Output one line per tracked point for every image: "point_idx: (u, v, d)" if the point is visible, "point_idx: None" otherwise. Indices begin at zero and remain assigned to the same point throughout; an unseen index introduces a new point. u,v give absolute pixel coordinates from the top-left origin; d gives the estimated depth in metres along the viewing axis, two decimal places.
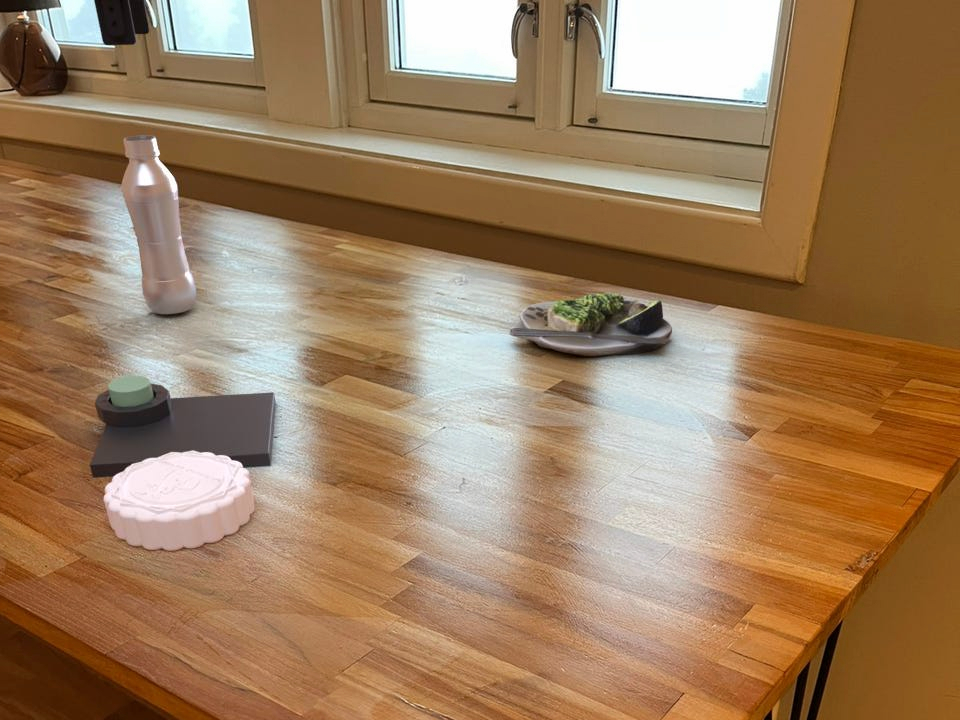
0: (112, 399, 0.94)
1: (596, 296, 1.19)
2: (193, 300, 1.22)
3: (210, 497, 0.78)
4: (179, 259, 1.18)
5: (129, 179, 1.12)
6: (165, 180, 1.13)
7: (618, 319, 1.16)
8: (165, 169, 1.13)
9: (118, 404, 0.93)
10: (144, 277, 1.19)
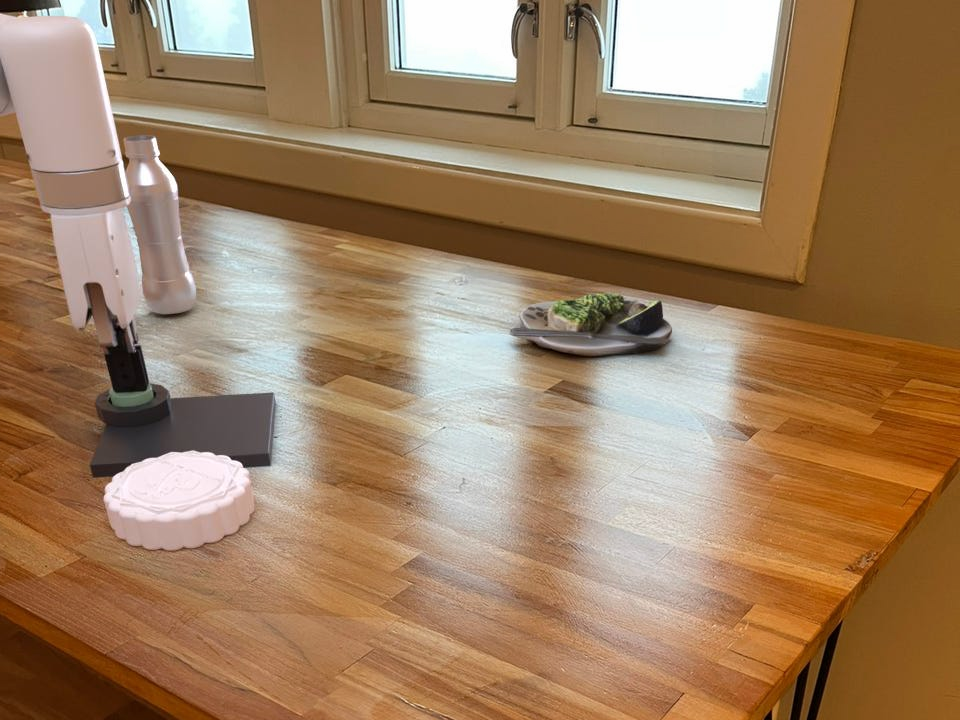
0: (113, 404, 0.94)
1: (596, 296, 1.19)
2: (193, 300, 1.22)
3: (210, 497, 0.78)
4: (179, 260, 1.18)
5: (129, 179, 1.12)
6: (165, 180, 1.13)
7: (618, 319, 1.16)
8: (165, 169, 1.13)
9: None
10: (144, 277, 1.19)
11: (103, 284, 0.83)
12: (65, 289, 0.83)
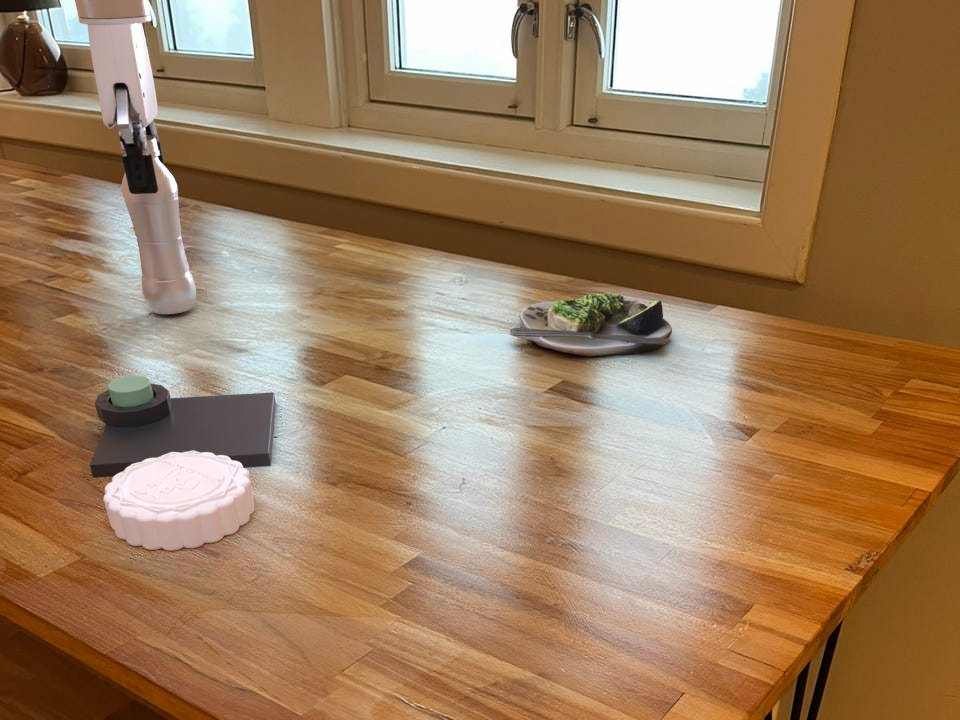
0: (112, 399, 0.94)
1: (596, 296, 1.19)
2: (193, 300, 1.22)
3: (210, 497, 0.78)
4: (179, 260, 1.18)
5: None
6: (165, 180, 1.13)
7: (618, 319, 1.16)
8: (165, 169, 1.13)
9: (118, 404, 0.93)
10: (144, 277, 1.19)
11: (129, 85, 1.04)
12: (98, 88, 1.04)
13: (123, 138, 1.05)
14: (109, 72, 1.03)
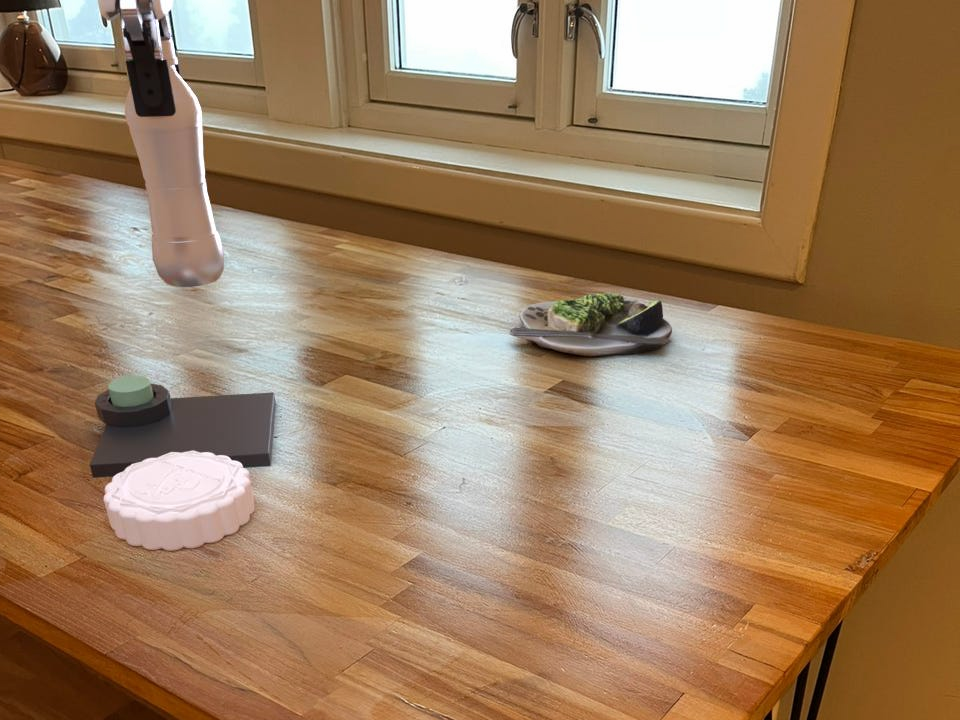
0: (112, 399, 0.94)
1: (596, 296, 1.19)
2: (220, 268, 0.91)
3: (210, 497, 0.78)
4: (203, 212, 0.87)
5: None
6: (185, 99, 0.82)
7: (618, 319, 1.16)
8: (185, 85, 0.82)
9: (118, 404, 0.93)
10: (155, 236, 0.88)
11: None
12: None
13: (128, 31, 0.74)
14: None
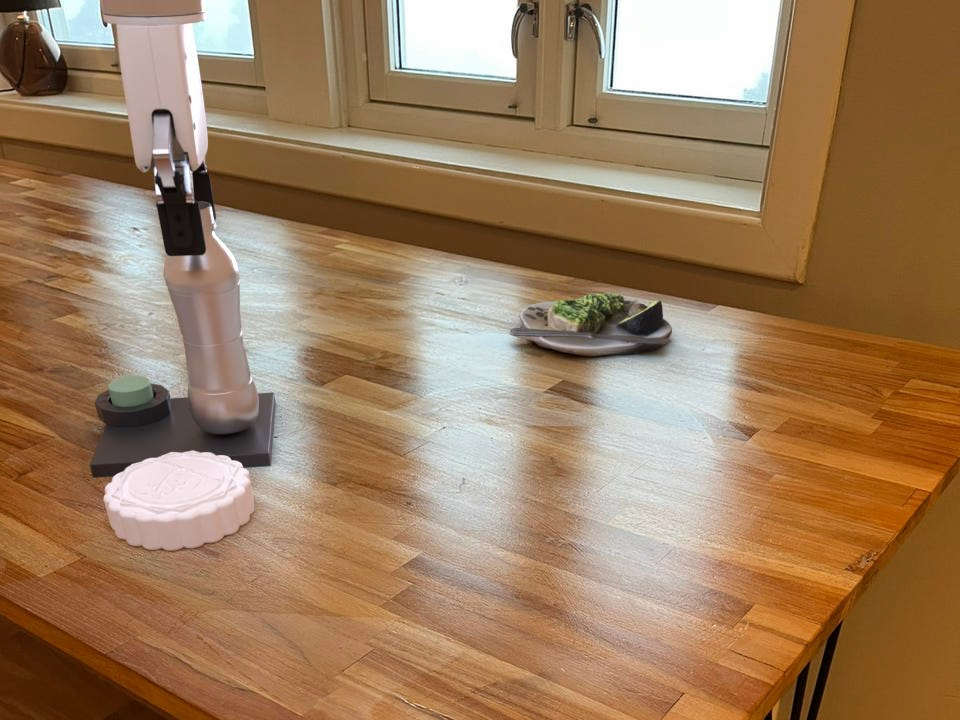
0: (112, 399, 0.94)
1: (596, 296, 1.19)
2: (255, 414, 0.91)
3: (210, 497, 0.78)
4: (239, 364, 0.88)
5: (175, 262, 0.81)
6: (223, 262, 0.82)
7: (618, 319, 1.16)
8: (223, 247, 0.83)
9: (118, 404, 0.93)
10: (191, 387, 0.88)
11: (174, 112, 0.72)
12: (130, 117, 0.72)
13: (160, 176, 0.72)
14: (146, 94, 0.71)
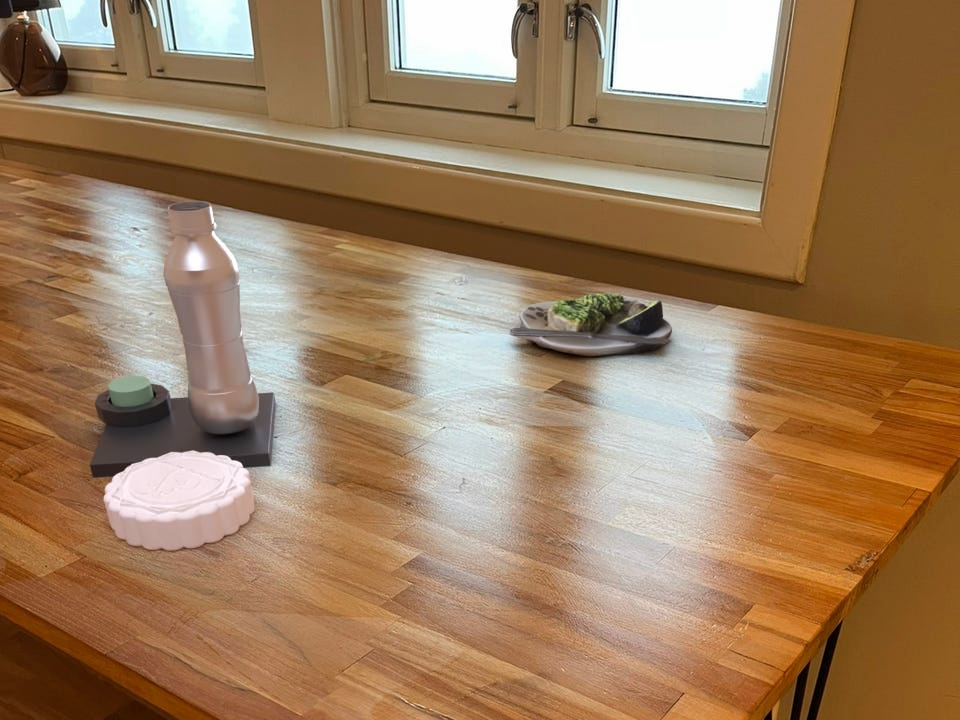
0: (112, 399, 0.94)
1: (596, 296, 1.19)
2: (255, 414, 0.91)
3: (210, 497, 0.78)
4: (239, 364, 0.88)
5: (175, 262, 0.81)
6: (223, 262, 0.82)
7: (618, 319, 1.16)
8: (223, 247, 0.83)
9: (118, 404, 0.93)
10: (191, 387, 0.88)
11: None
12: None
13: None
14: None
